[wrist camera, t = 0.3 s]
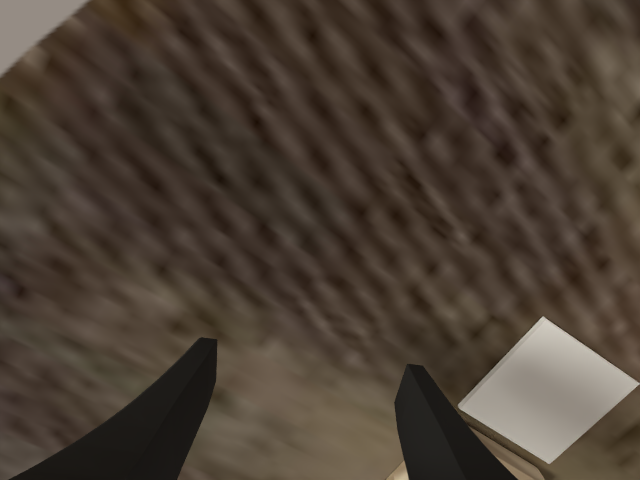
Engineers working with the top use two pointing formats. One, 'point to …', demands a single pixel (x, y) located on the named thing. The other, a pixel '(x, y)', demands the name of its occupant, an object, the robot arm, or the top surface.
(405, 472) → the pocket holder
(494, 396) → the pad
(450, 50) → the top surface
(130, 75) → the top surface
